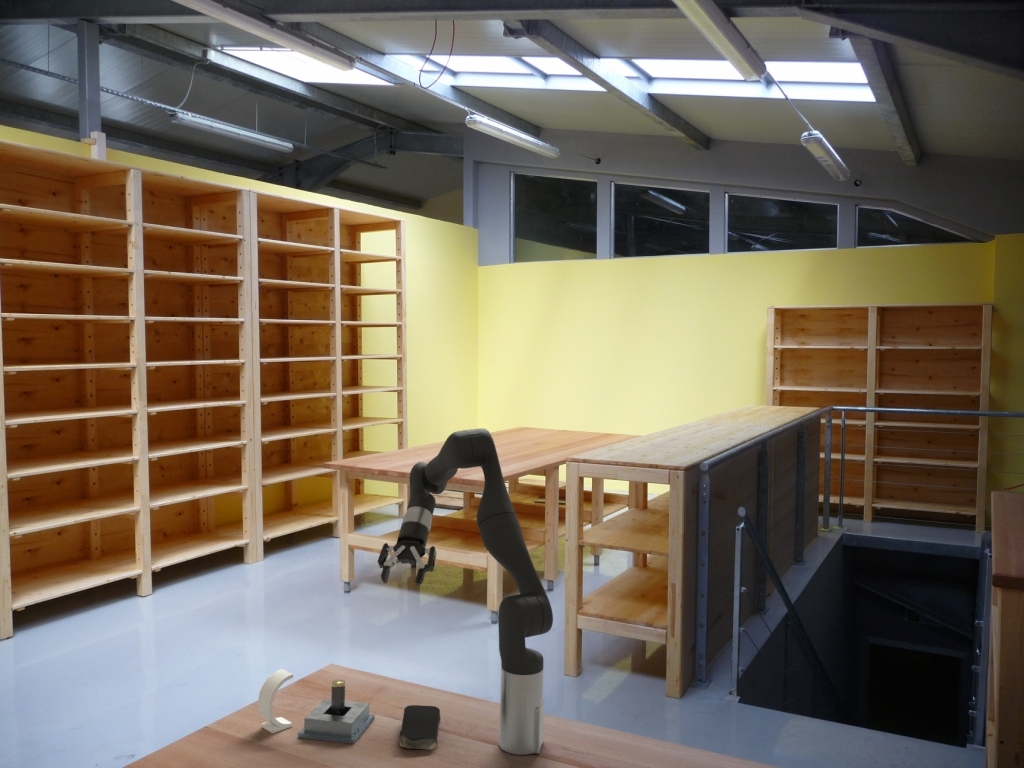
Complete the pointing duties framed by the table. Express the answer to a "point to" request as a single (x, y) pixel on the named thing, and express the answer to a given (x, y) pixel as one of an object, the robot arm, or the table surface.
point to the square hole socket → (337, 722)
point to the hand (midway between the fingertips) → (400, 583)
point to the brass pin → (338, 698)
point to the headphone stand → (267, 701)
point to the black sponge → (420, 727)
